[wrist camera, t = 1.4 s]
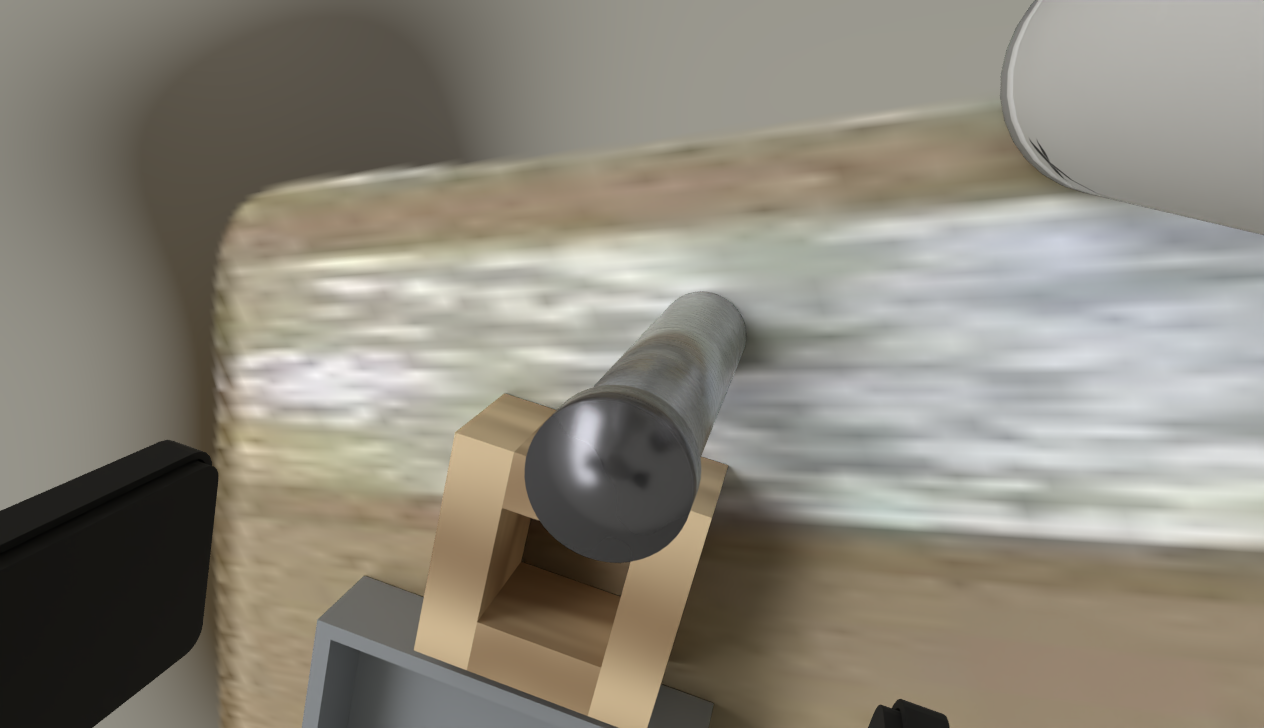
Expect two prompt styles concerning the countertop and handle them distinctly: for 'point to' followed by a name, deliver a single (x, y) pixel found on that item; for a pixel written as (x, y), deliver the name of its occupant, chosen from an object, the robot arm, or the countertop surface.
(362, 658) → the tray
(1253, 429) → the countertop surface
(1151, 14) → the travel mug
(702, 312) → the cylinder
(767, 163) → the countertop surface
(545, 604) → the block
